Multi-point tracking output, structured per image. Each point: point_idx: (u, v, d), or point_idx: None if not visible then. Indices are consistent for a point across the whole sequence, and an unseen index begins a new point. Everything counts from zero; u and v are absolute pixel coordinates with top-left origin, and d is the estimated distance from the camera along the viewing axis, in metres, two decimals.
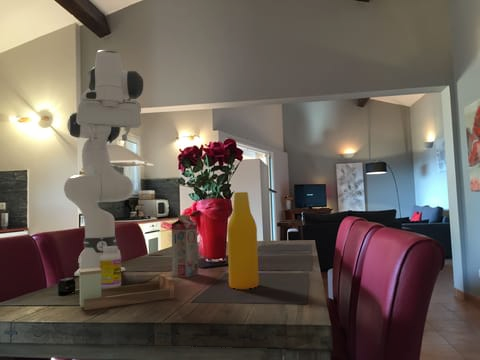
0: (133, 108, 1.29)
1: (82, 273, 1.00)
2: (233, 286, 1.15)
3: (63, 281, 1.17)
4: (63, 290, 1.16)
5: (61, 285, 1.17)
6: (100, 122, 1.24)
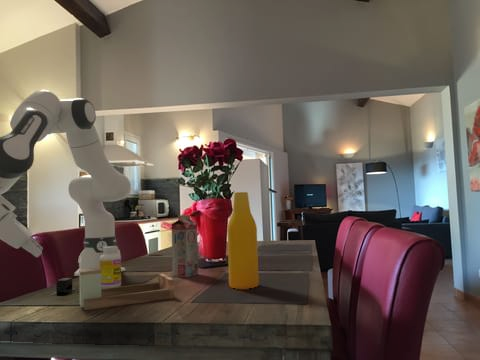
0: (14, 218, 1.03)
1: (82, 273, 1.00)
2: (233, 286, 1.15)
3: (62, 281, 1.17)
4: (62, 290, 1.16)
5: (60, 285, 1.16)
6: (29, 234, 0.95)
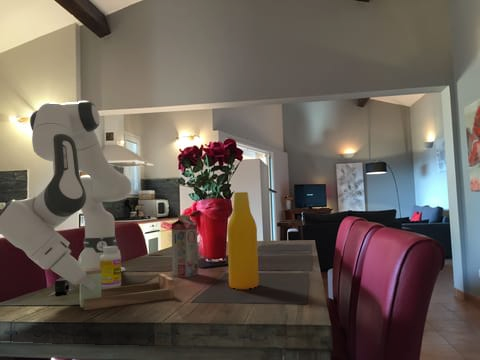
0: None
1: None
2: (233, 286, 1.15)
3: (61, 281, 1.17)
4: (62, 290, 1.16)
5: (59, 285, 1.16)
6: (83, 269, 1.00)
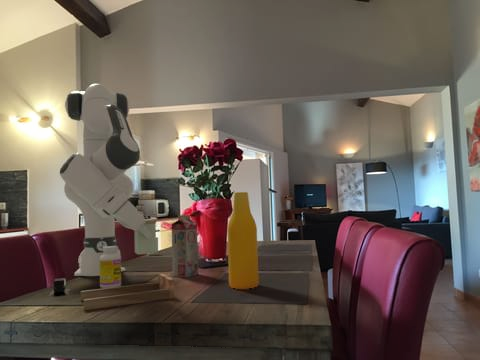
0: None
1: None
2: (233, 286, 1.15)
3: (60, 281, 1.17)
4: (61, 290, 1.16)
5: (58, 285, 1.16)
6: None
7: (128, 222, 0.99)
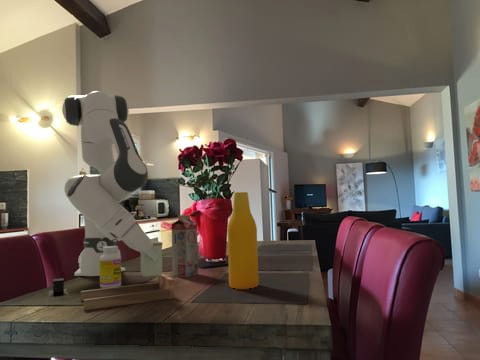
0: None
1: None
2: (233, 286, 1.15)
3: (59, 281, 1.17)
4: (60, 290, 1.16)
5: (58, 285, 1.16)
6: None
7: (136, 245, 0.99)
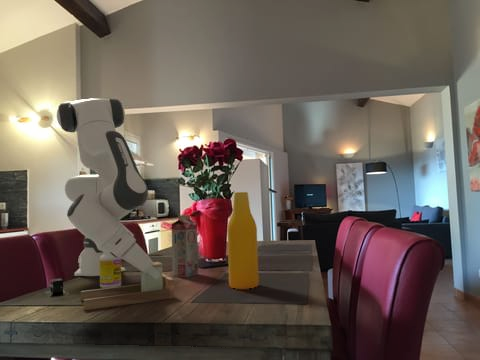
0: None
1: None
2: (233, 286, 1.15)
3: (59, 281, 1.17)
4: (60, 290, 1.16)
5: (57, 285, 1.16)
6: None
7: (136, 265, 0.99)
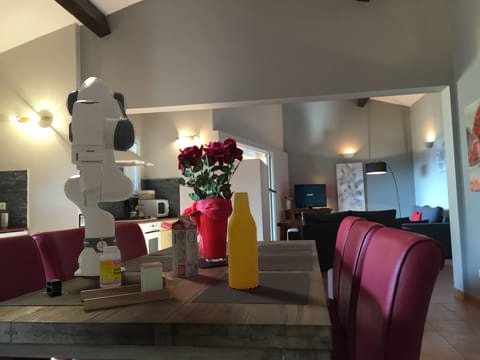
0: None
1: (146, 267, 1.07)
2: (233, 286, 1.15)
3: (57, 281, 1.16)
4: (59, 290, 1.16)
5: (56, 286, 1.16)
6: None
7: (84, 176, 0.97)
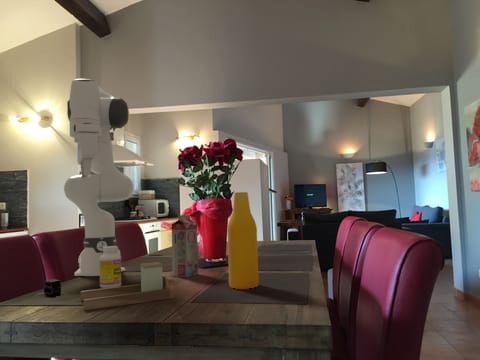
0: None
1: (146, 267, 1.07)
2: (233, 286, 1.15)
3: (57, 281, 1.16)
4: (58, 290, 1.16)
5: (56, 286, 1.16)
6: None
7: (81, 145, 1.07)
